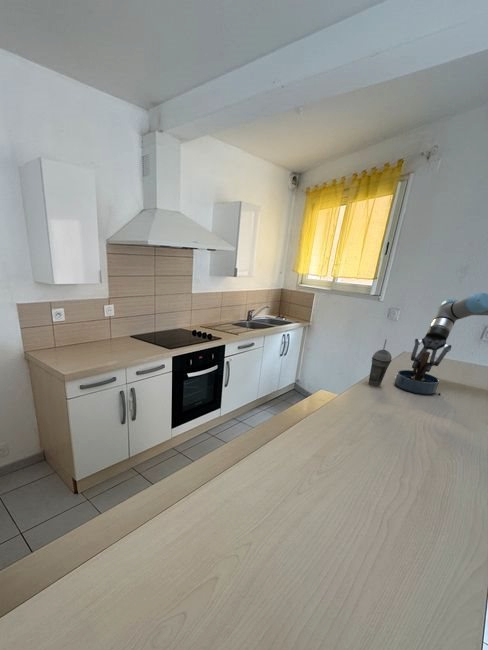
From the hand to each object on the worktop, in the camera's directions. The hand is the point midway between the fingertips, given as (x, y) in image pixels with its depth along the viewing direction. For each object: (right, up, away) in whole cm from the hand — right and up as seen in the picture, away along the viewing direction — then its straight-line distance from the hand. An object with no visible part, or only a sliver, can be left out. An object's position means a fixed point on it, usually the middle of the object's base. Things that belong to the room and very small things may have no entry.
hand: (417, 375), depth 134 cm
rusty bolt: (+3, -4, +5) cm, 7 cm away
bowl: (+2, -5, +5) cm, 7 cm away
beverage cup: (-14, -4, +7) cm, 16 cm away
